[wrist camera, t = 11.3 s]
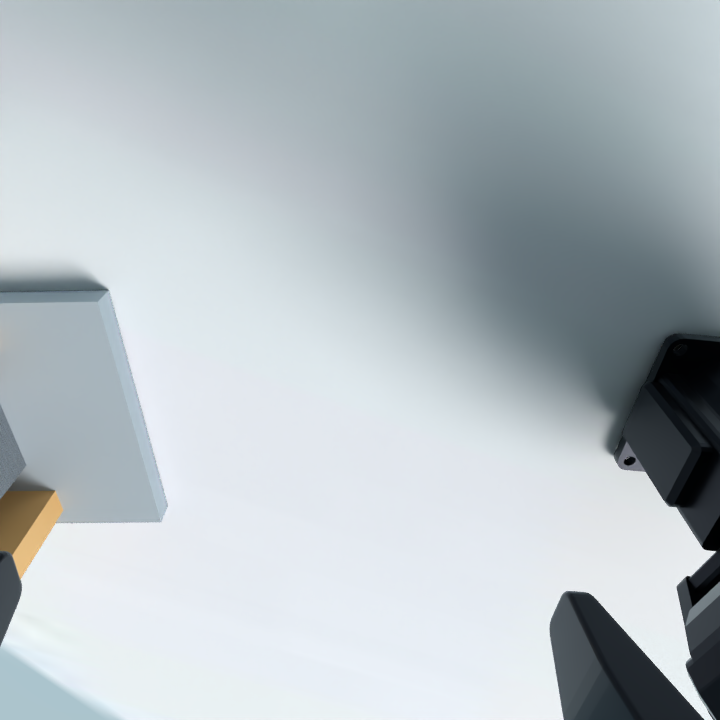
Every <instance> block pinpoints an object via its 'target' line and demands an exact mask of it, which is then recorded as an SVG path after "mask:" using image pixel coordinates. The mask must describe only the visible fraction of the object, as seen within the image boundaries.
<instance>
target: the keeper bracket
mask: <svg viewBox="0 0 720 720" xmlns="http://www.w3.org/2000/svg"><path fill="white" fill-rule="evenodd" d="M0 405H1V407H2V409H3V412H4V414H5V416H6V418H7V421H8V423H9V425H10V428H11V430H12V432H13V435H14V437H15V439H16V442H17V444H18V446H19V449H20V451H21V453H22V456H23V458H24V460H25V463H26V467H25V468H24V469H23V471H22V472H21V473H20V475H19V476H18V477H17V478H16V480H15V481H14V482H13V484H12V485H11V486H10V487H9V489H8V490H7V491H6V493H5V494H4V495H3V497H2V498H1V499H0V551H8V552H9V553H11V554H12V556H13V558H14V562H15V565H16V568H17V571H18V574H19V577H20V579H21V578H22V576H23V574H24V573H25V571H26V570H27V568H28V566H29V565H30V563H31V562H32V560H33V558H34V557H35V555H36V554H37V552H38V550H39V549H40V547H41V546H42V544H43V542H44V541H45V539H46V538H47V536H48V534H49V533H50V531H51V529H52V528H53V526H54V525H55V523H123V522H161V521H162V519H163V516H164V514H165V511H166V509H167V507H168V505H167V501H166V498H165V494H164V490H163V487H162V483H161V480H160V476H159V472H158V469H157V465H156V461H155V458H154V454H153V450H152V447H151V443H150V439H149V436H148V432H147V428H146V425H145V421H144V417H143V414H142V410H141V406H140V403H139V399H138V395H137V392H136V388H135V384H134V381H133V377H132V373H131V370H130V366H129V362H128V359H127V355H126V351H125V348H124V344H123V341H122V337H121V333H120V330H119V326H118V322H117V319H116V315H115V311H114V308H113V304H112V300H111V297H110V293H109V290H99V291H39V292H0Z"/></svg>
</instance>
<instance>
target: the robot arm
mask: <svg viewBox="0 0 720 720" xmlns="http://www.w3.org/2000/svg"><path fill="white" fill-rule="evenodd" d="M680 344H682V346H681V347H680V348H679V349H678V350H674V348H675V347H676V346H678V345H680ZM622 435H623V436H622V438H621V441H620V443H619V445H618V447H617V450H616V452H615V455H614V459H615V461H616V463H617V464H618V466H619V467H620V468H621V469H624V470H633V471H645V472H646V473H647V475H648V476H649V478H650V479H651V481H652V482H653V484H654V486H655V487H656V489H657V490H658V492H659V494H660V495H661V497H662V498H663V500H664V501H665V503H666V504H667V505H668V506H670V507H677V509H678V510H679V512H680V514H681V515H682V517H683V518H684V520H685V521H686V523H687V524H688V526H689V527H690V529H691V531H692V532H693V534H694V535H695V537H696V538H697V540H698V541H699V543H700V544H701V546H702V547H703V549H705V550H710V551H716V552H715V553H714V554H713V555H712V556H711V557H710V558H709V559H708V560H707V561H706V562H705V563H704V564H703V565H702V566H701V567H700V568H699V569H698V570H697V571H696V572H695V573H694V574H693V575H692V576H691V577H690V576H687V577H685V578H684V579H683V580H682V581H681V582H680V583H679V584H678V585H677V592H678V596H679V601H680V606H681V610H682V615H683V620H684V625H685V630H686V636H687V641H688V646H689V651H690V655H691V658H690V659H689V660H688V661H687V662H686V668H687V672H688V675H689V677H690V679H691V681H692V683H693V685H694V687H695V689H696V691H697V693H698V695H699V697H700V699H701V700H702V702H703V703H704V705H705V706H706V708H707V710H708V712H709V714H710V716H711V717H712V719H713V720H720V337H713V336H703V335H692V334H682V333H679V334H673V335H671V336H669V337H668V338H667V339H665V341H664V342H663V344H662V346H661V349H660V351H659V353H658V356H657V358H656V360H655V362H654V365H653V367H652V369H651V372H650V374H649V376H648V379H647V381H646V383H645V384H644V385H643V386H642V388H641V390H640V392H639V395H638V397H637V399H636V402H635V404H634V406H633V409H632V411H631V413H630V416H629V418H628V420H627V423H626V425H625V427H624V429H623V432H622ZM627 457H630V458H628V459H625V458H627ZM21 591H22V584H21V580H20V577H19V574H18V571H17V568H16V565H15V562H14V558H13V556H12V554H11V553H9V552H8V551H0V646H1V644H2V641H3V639H4V636H5V634H6V631H7V629H8V627H9V624H10V622H11V619H12V617H13V614H14V612H15V609H16V607H17V604H18V602H19V599H20V596H21ZM550 638H551V644H552V650H553V657H554V663H555V669H556V675H557V681H558V687H559V693H560V700H561V706H562V712H563V718H564V720H704V719H703V718H702V717H701V716H700V715H699V713H698V712H697V711H696V710H695V709H694V708H693V707H692V706H691V705H690V703H689V702H688V701H687V700H686V699H685V698H684V697H683V696H682V694H681V693H680V692H679V691H678V690H677V689H676V688H675V687H674V686H673V684H672V683H671V682H670V681H669V680H668V679H667V678H666V677H665V676H664V674H663V673H662V672H661V671H660V670H659V669H658V668H657V667H656V666H655V664H654V663H653V662H652V661H651V660H650V659H649V658H648V657H647V656H646V654H645V653H644V652H643V651H642V650H641V649H640V648H639V647H638V646H637V644H636V643H635V642H634V641H633V640H632V639H631V638H630V637H629V636H628V634H627V633H626V632H625V631H624V630H623V629H622V628H621V627H620V625H619V624H618V623H617V622H616V621H615V620H614V619H613V618H612V617H611V615H610V614H609V613H608V612H607V611H606V610H605V609H604V608H603V607H602V605H601V604H600V603H599V602H598V601H597V600H596V599H595V598H594V597H593V596H592V595H591V594H589V593H586V592H575V591H566V592H565V593H563V594H562V596H561V598H560V600H559V603H558V605H557V607H556V609H555V612H554V614H553V616H552V618H551V622H550Z"/></svg>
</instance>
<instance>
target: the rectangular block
mask: <svg viewBox="0 0 720 720" xmlns="http://www.w3.org/2000/svg"><path fill="white" fill-rule="evenodd" d="M25 467H26V463H25V460H24V458H23V456H22V453H21V451H20V449H19V446H18V444H17V442H16V439H15V437H14V435H13V432H12V430H11V428H10V425H9V423H8V421H7V418H6V416H5V414H4V412H3V409H2V407H1V405H0V499H1V498H2V497H3V495H4V494H5V493H6V491H7V490H8V489H9V487H10V486H11V485H12V484H13V482H14V481H15V480H16V478H17V477H18V476H19V475H20V473H21V472H22V471H23V469H24V468H25Z"/></svg>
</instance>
